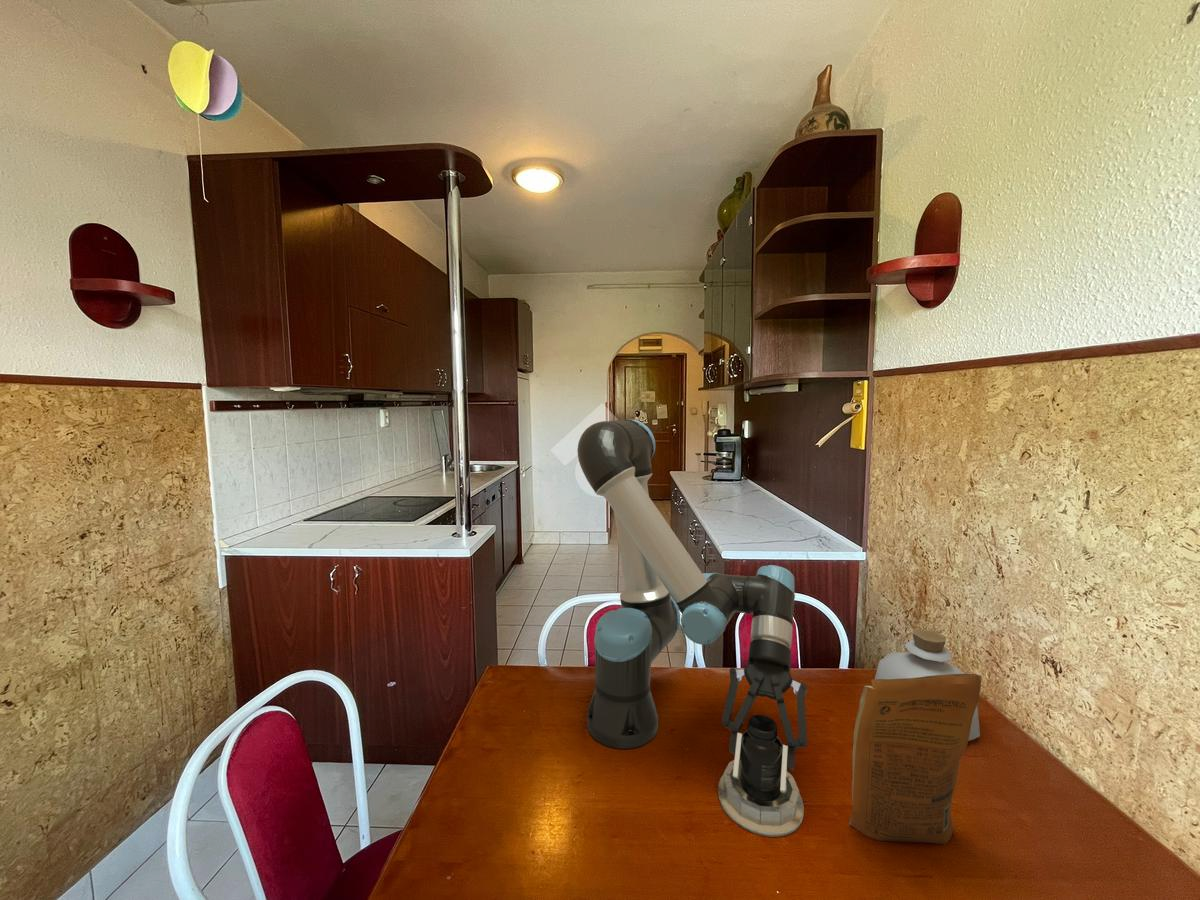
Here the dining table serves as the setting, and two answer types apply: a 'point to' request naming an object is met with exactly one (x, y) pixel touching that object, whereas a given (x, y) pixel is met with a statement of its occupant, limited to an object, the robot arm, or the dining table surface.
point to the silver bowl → (761, 807)
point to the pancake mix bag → (910, 755)
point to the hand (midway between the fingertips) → (758, 784)
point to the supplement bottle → (761, 759)
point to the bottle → (923, 663)
